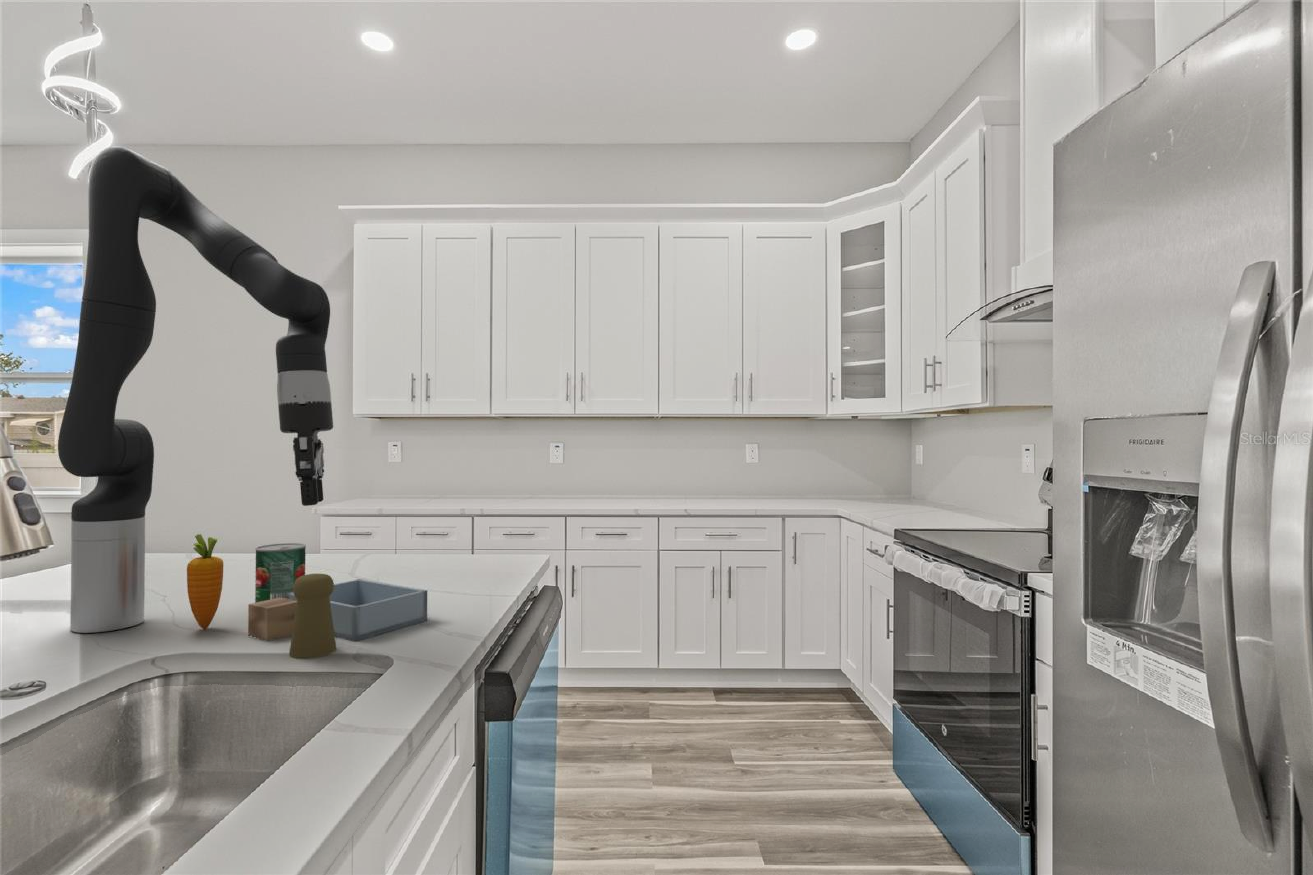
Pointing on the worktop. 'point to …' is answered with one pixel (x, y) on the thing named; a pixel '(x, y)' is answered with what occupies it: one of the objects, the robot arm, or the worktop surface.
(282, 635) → the walnut cube
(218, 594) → the carrot
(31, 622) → the worktop surface
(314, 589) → the cork
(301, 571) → the canned tomato
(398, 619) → the tote
